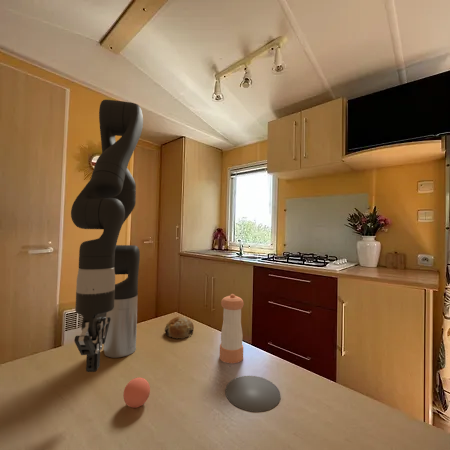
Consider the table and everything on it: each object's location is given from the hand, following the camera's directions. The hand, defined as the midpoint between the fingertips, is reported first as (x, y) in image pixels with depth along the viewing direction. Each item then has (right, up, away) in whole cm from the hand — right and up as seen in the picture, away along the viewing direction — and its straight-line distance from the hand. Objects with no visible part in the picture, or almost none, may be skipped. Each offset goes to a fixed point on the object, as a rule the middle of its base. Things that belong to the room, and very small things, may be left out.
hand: (92, 369), depth 54 cm
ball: (+9, -6, +1) cm, 11 cm away
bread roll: (+11, -10, +39) cm, 42 cm away
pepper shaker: (+30, -10, +23) cm, 39 cm away
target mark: (+35, -9, +6) cm, 37 cm away
